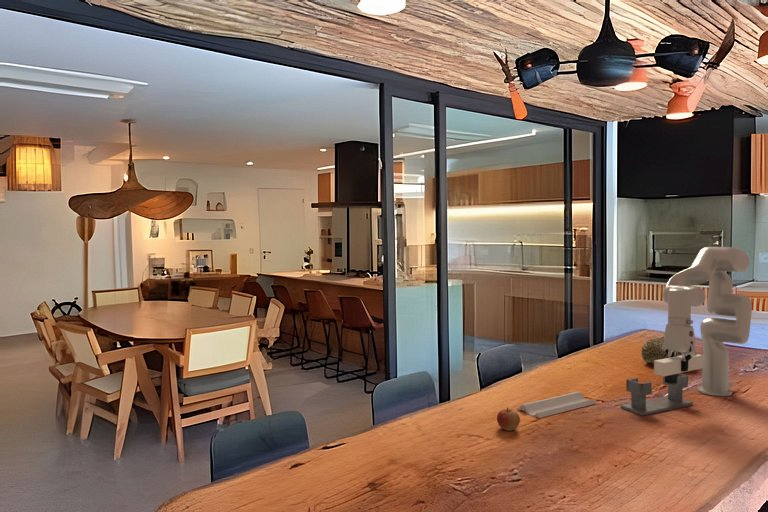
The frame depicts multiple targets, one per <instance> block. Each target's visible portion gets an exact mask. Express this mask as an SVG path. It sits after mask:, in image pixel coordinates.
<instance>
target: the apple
mask: <svg viewBox="0 0 768 512" xmlns="http://www.w3.org/2000/svg"><path fill="white" fill-rule="evenodd" d="M496 421H497V424H498V426H499V427H500V428H501V429H502V430H504V431H507V432H510V431H512V432H513V431H515V430H516V429H517V428H518V426H520V423H521V422H520V421H521V417H520V414H519V413H518V412H517V411H516V410H514V409H511V408H509V407H506V408H503V409H501V410H499V411H498V412H497V416H496Z"/></svg>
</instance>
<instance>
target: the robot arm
mask: <svg viewBox="0 0 768 512" xmlns="http://www.w3.org/2000/svg"><path fill="white" fill-rule="evenodd" d="M749 265H750V257H749V255H748V253H747V252H746V251H745V250H741V249H739V248H737V247H733V246H705V247H703V248H701V249H700V250H699V252H698V253H697V254H696V256H695V258H694V260H693V261H692V263H691V265H690V267H688V268H686V269H683V270H681V271H679V272H677V273H675V274H674V275H672V276H671V277H670V278H669V279H668V281H667V283H666V284H665V286H664V289H663V291H662V299H663V301H664V302H665V303H667V323H666V325H665V330H664V336H663V337H664V344H663V345H662V347H661V348H662V349H663V350H664V351H665V352H666V354H667V355H668V358H670V357H675V354H676V351H677V352H681V354H682V360H683V361H681V371H682V373H684V372H683V371H687V372H689V371H688V360H690V359H691V358H692V357H694V356H696V355H697V354H698V353H697V351H696V336H695V330H694V326H693V324H694V320H692V318H691V315H692V314H691V313H692V312H691V311H692V307H700V306H701V305H703V304H704V303H705V301H706V297H707V304H706V307H707V312H708V313H710V314H712V315H715V316H723V317H724V316H725V317H734V318H735V319H729V318H728V319H727V318H720V317H707V318H704V319H702V321H701V322H700V326H699V327H700V328H699V329H700V337H701V340H702V341H701V342H702V354H701V355H703V368H701V385H699V386H697V391H698V392H700V393H702V394H704V395H709V396H714V397H730V396H732V395H733V391H732V390H731V389H730V387H733V386H734V385H735V382H734V381H732V380H731V381H730V380H729V363H730V362H729V359H730V358H729V356H730V355H729V354H730V353H729V350H728V347H727V346H726V344H725V343H730V344H737V345H738V344H739V345H743V344H744V345H745V344H746V343H747V342H748V341H749V337H750V331H751V322H752V321H751V320H752V312H753V305H752V300H751V298H750V297H749V296H748V295H746V294H740V293H733V285H734V283H733V280H732V278H731V277H730V275H729V274H728V272H733V273H734V272H736V273H738V272H739V273H742V272H744V271H747V269H748V268H749ZM705 283H708V291H707V293H708V294H707V296H706V292H705V291H704V289H703V288H701V287H698V285H701V284H705ZM696 285H697V286H696ZM689 352H691V354H689ZM685 354H686V355H685Z"/></svg>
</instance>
